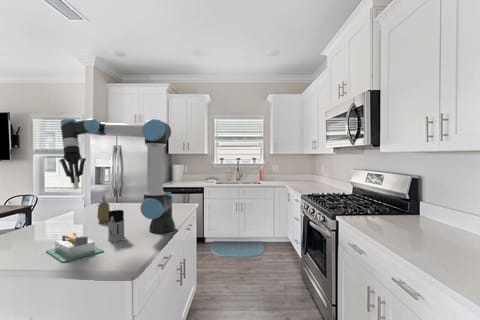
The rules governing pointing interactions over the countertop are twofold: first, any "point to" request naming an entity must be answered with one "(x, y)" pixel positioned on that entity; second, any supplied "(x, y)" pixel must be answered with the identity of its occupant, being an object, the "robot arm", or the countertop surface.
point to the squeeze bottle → (103, 210)
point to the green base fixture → (73, 249)
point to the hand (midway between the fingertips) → (76, 188)
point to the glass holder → (116, 225)
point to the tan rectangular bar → (72, 237)
